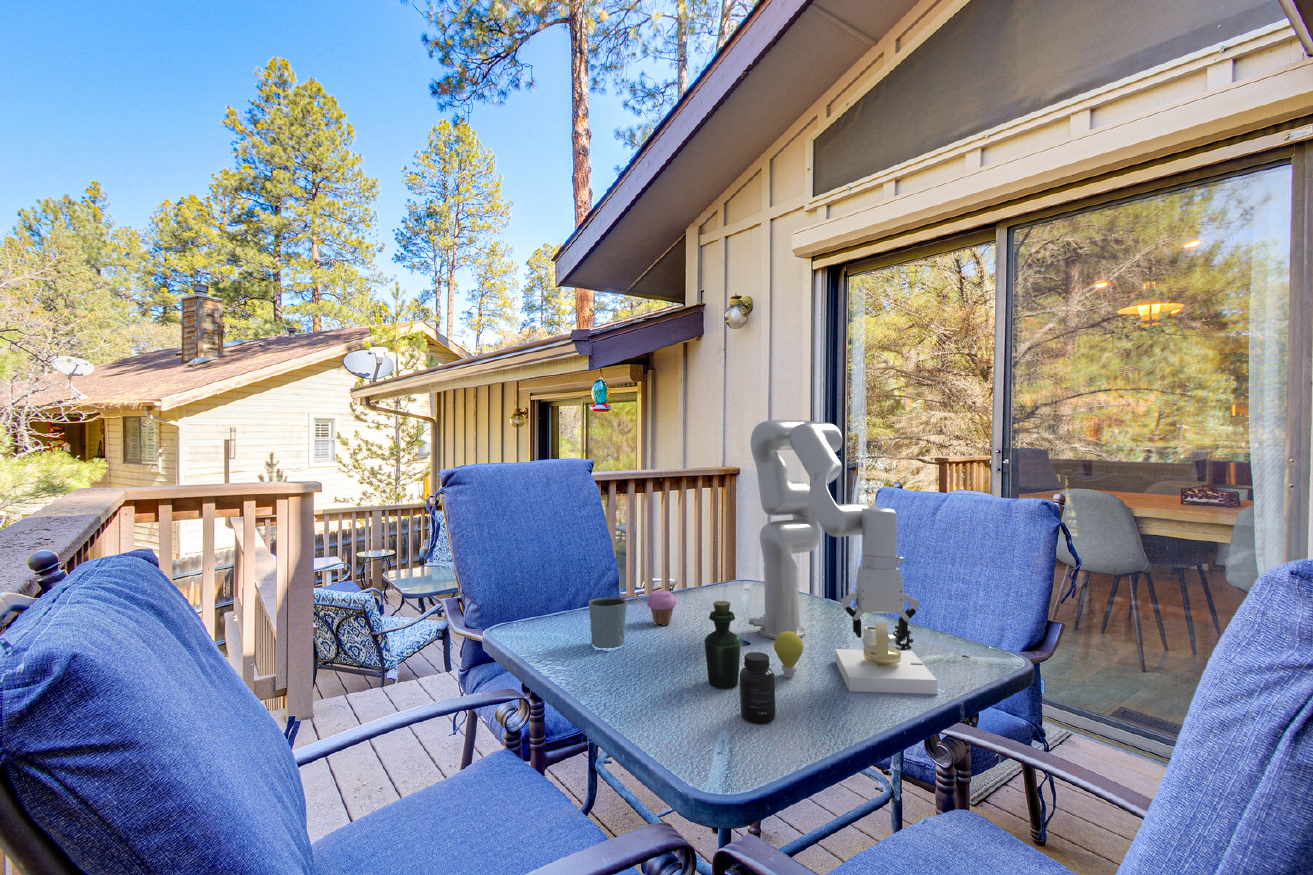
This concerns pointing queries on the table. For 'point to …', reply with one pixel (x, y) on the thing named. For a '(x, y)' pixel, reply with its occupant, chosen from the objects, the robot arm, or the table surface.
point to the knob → (882, 648)
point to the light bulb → (788, 651)
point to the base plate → (885, 674)
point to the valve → (871, 638)
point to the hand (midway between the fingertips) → (880, 636)
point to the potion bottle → (722, 649)
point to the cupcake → (661, 606)
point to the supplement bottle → (757, 689)
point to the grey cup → (607, 621)
